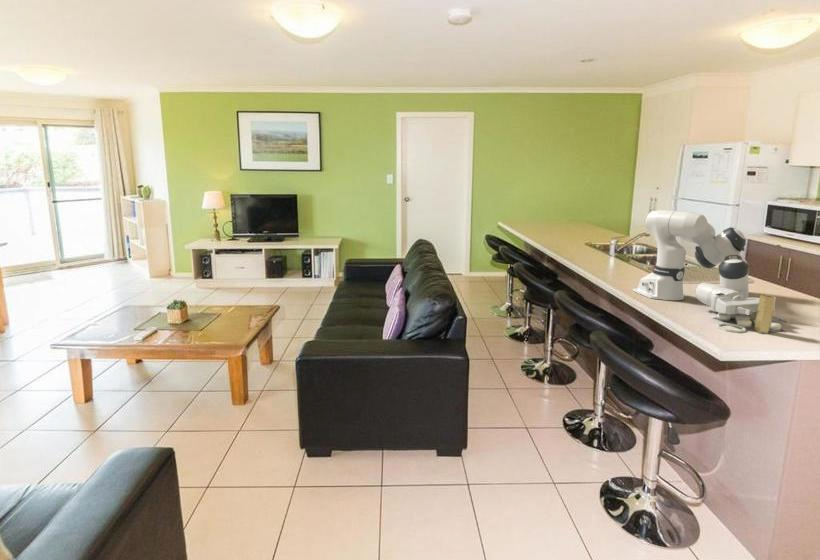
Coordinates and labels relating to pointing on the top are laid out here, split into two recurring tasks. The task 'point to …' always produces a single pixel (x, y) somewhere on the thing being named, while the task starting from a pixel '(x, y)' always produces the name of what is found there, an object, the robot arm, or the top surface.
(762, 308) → the coupling nut
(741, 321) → the mat
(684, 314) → the top surface
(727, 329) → the dish
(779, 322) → the adjustable wrench
